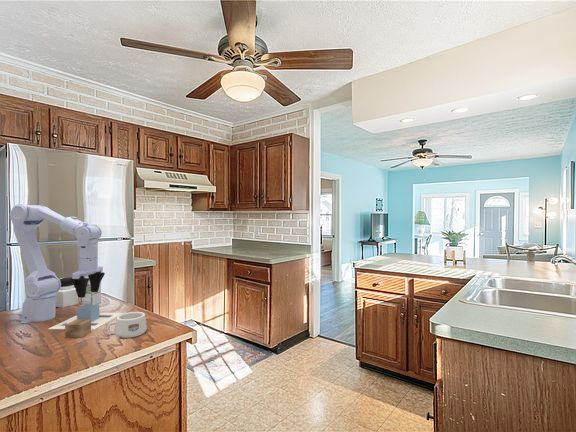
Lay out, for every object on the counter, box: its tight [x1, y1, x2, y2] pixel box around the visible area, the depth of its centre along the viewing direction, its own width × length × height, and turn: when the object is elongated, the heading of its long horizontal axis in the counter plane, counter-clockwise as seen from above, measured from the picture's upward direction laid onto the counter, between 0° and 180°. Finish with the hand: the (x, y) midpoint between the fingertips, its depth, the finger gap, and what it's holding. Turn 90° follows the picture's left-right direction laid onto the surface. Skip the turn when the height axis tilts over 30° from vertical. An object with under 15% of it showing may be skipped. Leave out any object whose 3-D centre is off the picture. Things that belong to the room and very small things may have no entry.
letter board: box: [48, 312, 123, 330], centre depth 114 cm, size 16×18×1 cm
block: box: [64, 319, 92, 339], centre depth 100 cm, size 5×5×5 cm
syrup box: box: [80, 275, 102, 306], centre depth 138 cm, size 6×6×14 cm
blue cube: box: [76, 304, 100, 322], centre depth 114 cm, size 5×5×5 cm
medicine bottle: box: [56, 276, 80, 309], centre depth 136 cm, size 7×7×12 cm
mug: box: [106, 311, 148, 339], centre depth 103 cm, size 12×10×6 cm
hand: (88, 294), depth 114 cm, fingers open, 7 cm apart
